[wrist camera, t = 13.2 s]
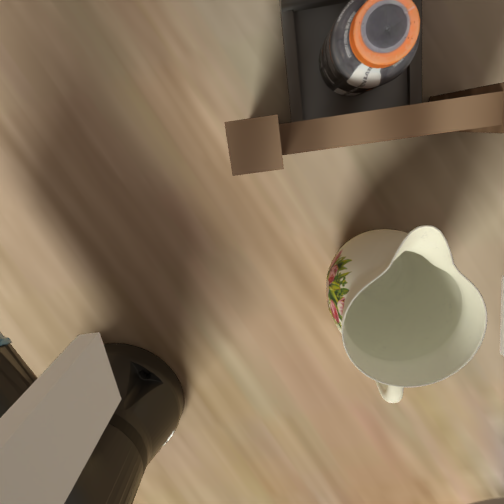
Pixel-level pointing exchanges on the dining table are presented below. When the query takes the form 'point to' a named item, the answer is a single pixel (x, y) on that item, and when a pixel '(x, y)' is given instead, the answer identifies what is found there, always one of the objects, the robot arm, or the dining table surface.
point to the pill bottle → (369, 45)
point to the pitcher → (404, 308)
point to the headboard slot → (350, 101)
